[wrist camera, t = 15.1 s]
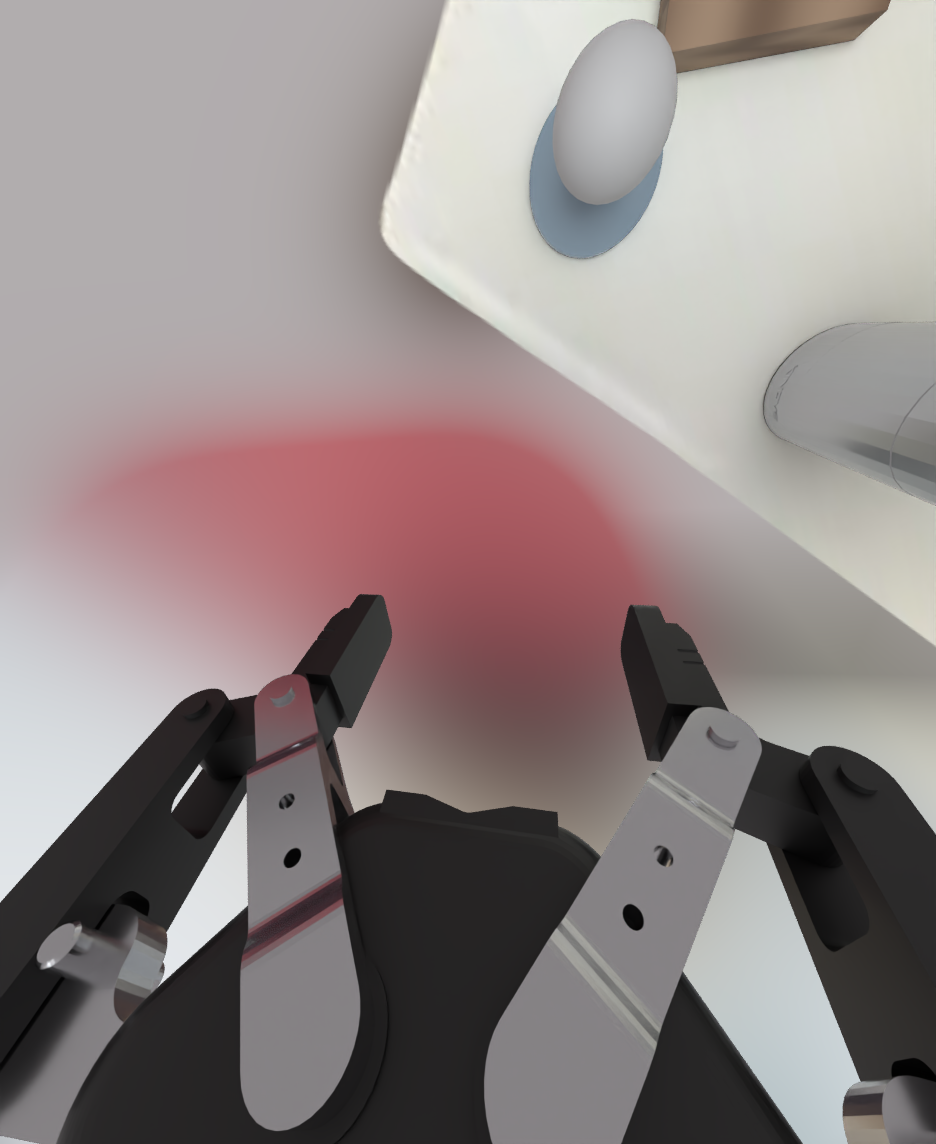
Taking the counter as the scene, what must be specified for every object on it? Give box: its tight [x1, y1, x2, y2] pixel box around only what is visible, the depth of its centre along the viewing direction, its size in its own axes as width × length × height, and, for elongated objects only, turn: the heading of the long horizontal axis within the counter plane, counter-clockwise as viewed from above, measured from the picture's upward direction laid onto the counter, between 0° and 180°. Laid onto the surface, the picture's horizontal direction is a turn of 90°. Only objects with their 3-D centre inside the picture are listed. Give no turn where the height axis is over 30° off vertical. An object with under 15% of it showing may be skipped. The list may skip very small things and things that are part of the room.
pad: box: [530, 105, 663, 258], centre depth 26 cm, size 9×9×1 cm
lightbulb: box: [553, 19, 677, 205], centre depth 21 cm, size 6×6×11 cm
